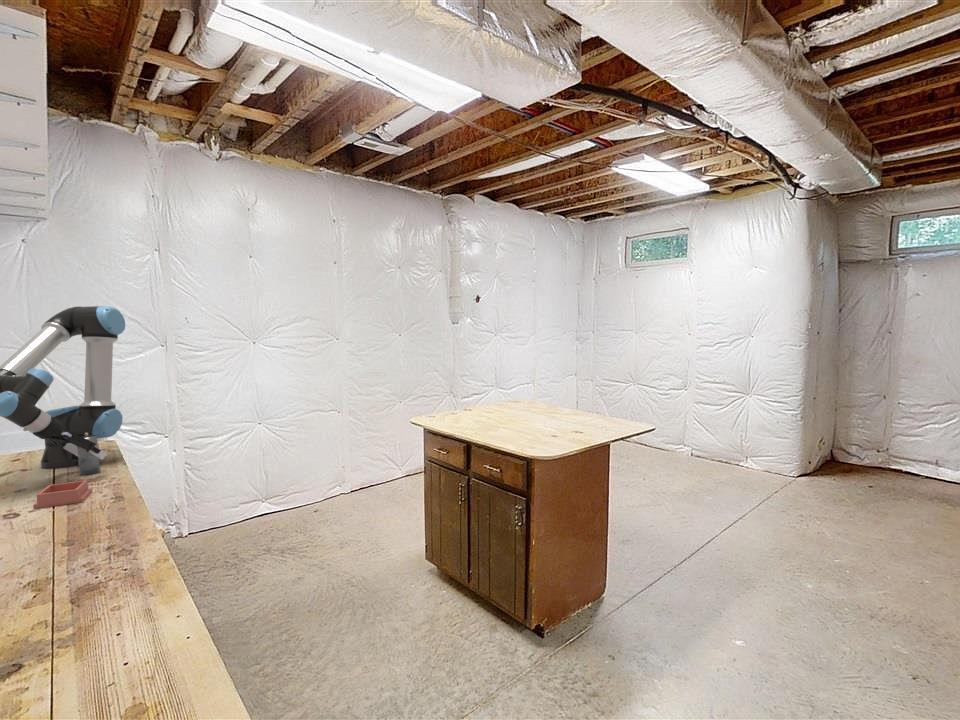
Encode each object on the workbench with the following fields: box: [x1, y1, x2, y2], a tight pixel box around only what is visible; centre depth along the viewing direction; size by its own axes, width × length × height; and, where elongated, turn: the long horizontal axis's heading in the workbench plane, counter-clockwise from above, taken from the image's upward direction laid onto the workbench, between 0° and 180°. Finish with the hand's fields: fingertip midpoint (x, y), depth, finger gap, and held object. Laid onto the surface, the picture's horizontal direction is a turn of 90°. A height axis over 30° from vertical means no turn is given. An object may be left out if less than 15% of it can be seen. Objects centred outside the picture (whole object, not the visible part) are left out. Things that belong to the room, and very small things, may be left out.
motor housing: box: [77, 433, 101, 477], centre depth 178 cm, size 6×6×16 cm
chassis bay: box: [32, 479, 93, 510], centre depth 152 cm, size 10×12×4 cm
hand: (92, 454), depth 180 cm, fingers open, 13 cm apart
